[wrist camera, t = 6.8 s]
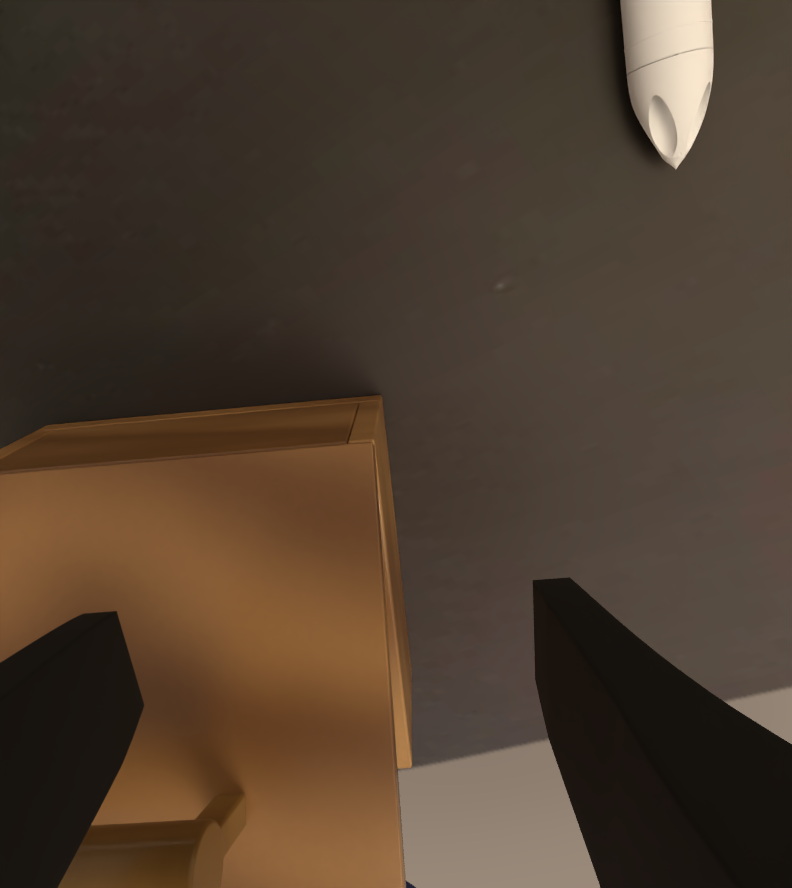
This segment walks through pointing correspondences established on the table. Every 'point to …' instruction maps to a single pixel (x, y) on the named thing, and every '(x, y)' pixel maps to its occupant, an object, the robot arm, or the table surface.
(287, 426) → the keepsake box
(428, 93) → the table surface
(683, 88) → the marker
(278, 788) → the brown piece
